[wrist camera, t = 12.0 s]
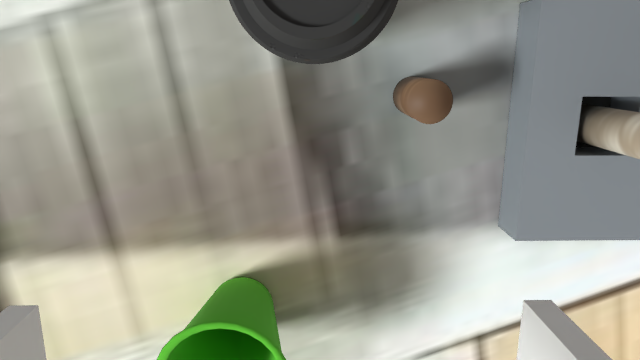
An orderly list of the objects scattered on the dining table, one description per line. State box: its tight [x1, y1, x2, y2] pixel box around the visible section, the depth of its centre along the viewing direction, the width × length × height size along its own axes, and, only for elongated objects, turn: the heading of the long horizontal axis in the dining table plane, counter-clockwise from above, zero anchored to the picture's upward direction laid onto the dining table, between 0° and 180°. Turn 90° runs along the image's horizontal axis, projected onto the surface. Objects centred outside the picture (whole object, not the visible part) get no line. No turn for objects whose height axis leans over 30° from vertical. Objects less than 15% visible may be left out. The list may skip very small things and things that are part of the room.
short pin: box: [393, 76, 453, 124], centre depth 35 cm, size 3×3×6 cm
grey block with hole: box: [498, 0, 640, 241], centre depth 37 cm, size 18×12×4 cm, turn 0°
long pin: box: [577, 104, 640, 159], centre depth 32 cm, size 3×3×14 cm
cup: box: [157, 277, 286, 360], centre depth 37 cm, size 9×9×11 cm
